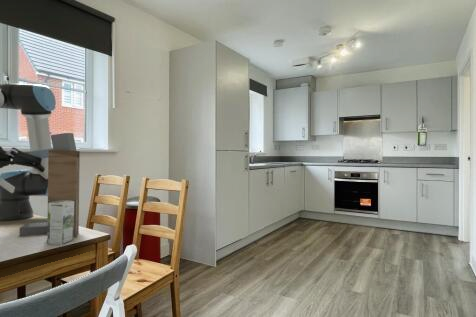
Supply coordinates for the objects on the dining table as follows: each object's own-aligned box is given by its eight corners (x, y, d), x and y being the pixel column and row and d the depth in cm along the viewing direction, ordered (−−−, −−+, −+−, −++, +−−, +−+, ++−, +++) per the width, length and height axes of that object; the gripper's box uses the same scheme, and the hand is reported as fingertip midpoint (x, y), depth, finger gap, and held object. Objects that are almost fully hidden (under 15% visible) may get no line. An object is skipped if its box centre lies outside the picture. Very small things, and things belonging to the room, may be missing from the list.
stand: (52, 234, 111) (53, 150, 111) (78, 232, 114) (79, 151, 115) (47, 240, 104) (48, 150, 104) (75, 237, 107) (76, 150, 107)
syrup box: (59, 239, 105) (59, 199, 105) (74, 240, 104) (74, 200, 104) (46, 244, 99) (47, 202, 99) (62, 245, 98) (63, 202, 98)
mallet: (24, 161, 106) (19, 139, 106) (32, 160, 111) (28, 139, 110) (71, 154, 107) (67, 132, 107) (77, 153, 112) (73, 133, 111)
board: (25, 231, 115) (25, 223, 115) (65, 228, 121) (65, 221, 121) (19, 235, 109) (19, 227, 109) (62, 232, 114) (62, 225, 114)
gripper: (-59, 169, 93) (-3, 203, 109) (15, 140, 94) (60, 177, 109) (-50, 154, 98) (1, 188, 114) (20, 126, 99) (62, 164, 115)
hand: (30, 183), depth 112 cm, fingers open, 13 cm apart
